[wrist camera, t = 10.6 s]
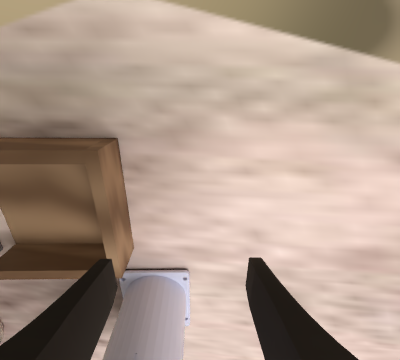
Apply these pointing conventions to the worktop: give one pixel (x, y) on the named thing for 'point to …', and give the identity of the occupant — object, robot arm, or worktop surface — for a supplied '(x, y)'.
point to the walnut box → (63, 207)
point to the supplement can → (1, 331)
